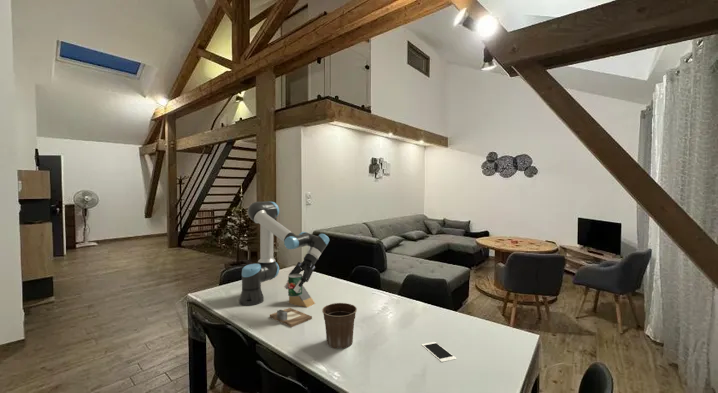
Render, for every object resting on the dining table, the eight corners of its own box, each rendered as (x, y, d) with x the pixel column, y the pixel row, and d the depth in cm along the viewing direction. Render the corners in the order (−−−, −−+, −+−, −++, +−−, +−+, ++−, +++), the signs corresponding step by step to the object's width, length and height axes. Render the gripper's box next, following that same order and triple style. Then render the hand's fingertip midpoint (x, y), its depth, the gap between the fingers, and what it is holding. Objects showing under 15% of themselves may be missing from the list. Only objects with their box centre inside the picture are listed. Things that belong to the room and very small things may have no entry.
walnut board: (269, 317, 176) (269, 307, 176) (289, 310, 187) (289, 301, 187) (291, 327, 163) (291, 316, 163) (311, 319, 174) (311, 309, 174)
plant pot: (343, 355, 135) (343, 318, 135) (315, 345, 144) (315, 311, 144) (363, 340, 149) (363, 307, 149) (335, 332, 158) (335, 300, 157)
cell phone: (441, 363, 130) (441, 361, 130) (421, 345, 145) (421, 344, 145) (457, 359, 133) (457, 358, 133) (435, 342, 148) (435, 341, 148)
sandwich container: (307, 307, 191) (307, 283, 191) (288, 303, 199) (288, 280, 199) (316, 303, 199) (316, 280, 199) (297, 299, 206) (297, 276, 206)
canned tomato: (285, 295, 175) (285, 276, 175) (293, 291, 183) (293, 273, 182) (297, 297, 172) (297, 277, 172) (304, 293, 180) (304, 274, 180)
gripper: (327, 262, 182) (306, 297, 170) (304, 257, 196) (283, 289, 184) (320, 255, 178) (298, 289, 166) (297, 250, 192) (275, 282, 179)
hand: (290, 289), depth 175 cm, fingers closed on canned tomato, 8 cm apart
